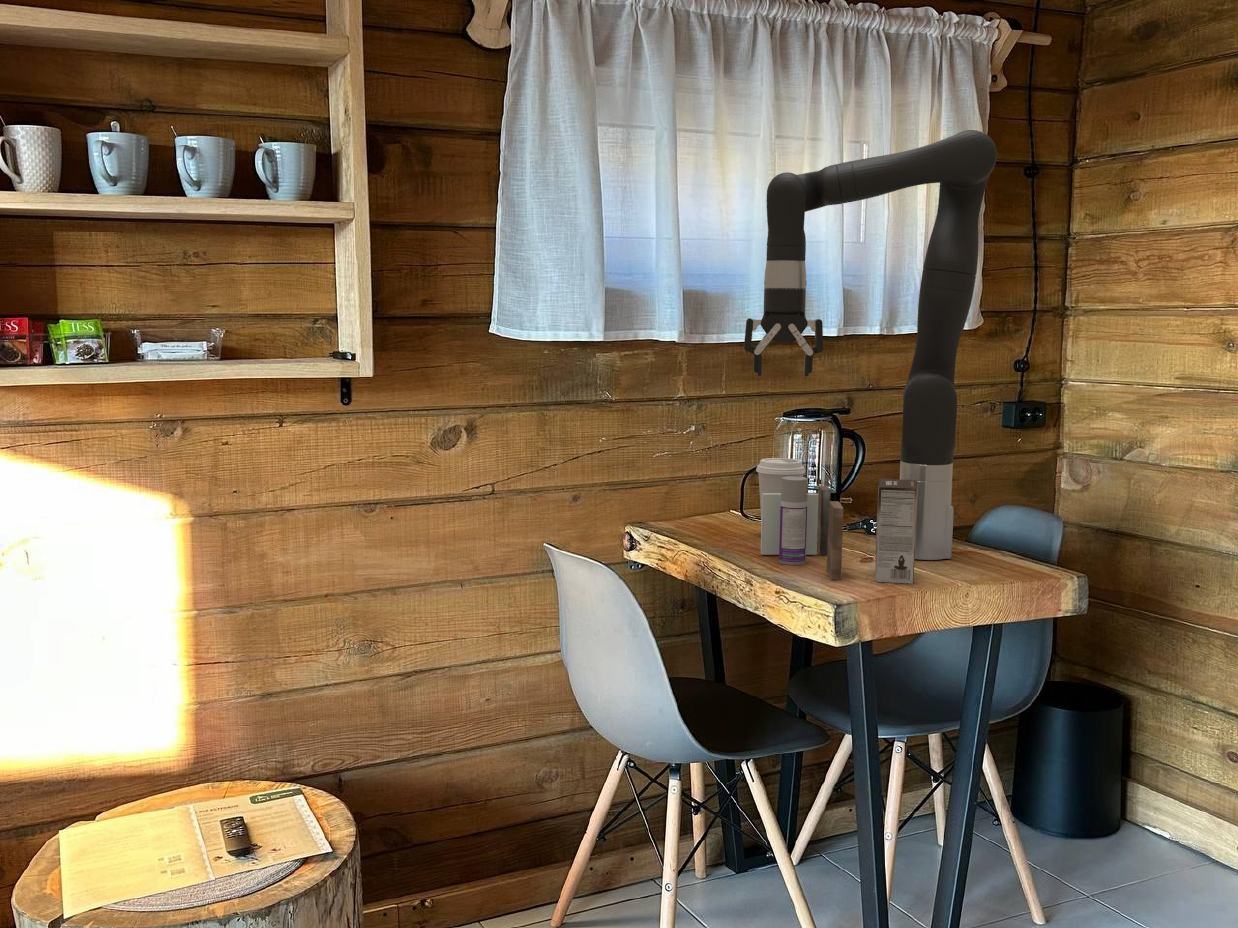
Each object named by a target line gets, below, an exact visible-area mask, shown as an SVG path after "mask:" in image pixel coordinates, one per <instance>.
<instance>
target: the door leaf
mask: <svg viewBox="0 0 1238 928" xmlns="http://www.w3.org/2000/svg"><path fill="white" fill-rule="evenodd" d="M818 498H819V493H812V492H811V493H810V492H809V493H808V492H807V532H806V556H807V555H814V556H815V555H817V553H818V551H817V528H818ZM780 505H781V493H762V517H761V516H760V519H761V522H760V523H761V524H760V555H779V539H780Z"/></svg>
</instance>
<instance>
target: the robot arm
mask: <svg viewBox="0 0 1238 928" xmlns="http://www.w3.org/2000/svg"><path fill="white" fill-rule="evenodd" d="M997 159H998V150H997V146H996V144H995V141H993V139H992V138H991V137H990V136H989V135H988V134H986V133H984V132H983V131H981V130H980V131H979V130H975V129H967V130H963V131H959V132H957V133H956V134H954V135H952V136H951V135H950V136H948V137H946V138H943V139H940V140H938V141H934V142H932V143H930V144H926V145H923V146H920V147H916V148H913V149H907V150H905V151H899V152H895V153H889V154H884V155H879V156H872V157H866V158H861V159H855V160H850V161H845V162H840V163H836V164H835V163H834V164H831V165H827V166H825V167H823V168H822V169H820V170H816V171H810V172H805V173H800V174H796V173H793V172H789V171H787V172H782V173H779V174H776V175H775V176H774V177H773V178H772V179H771V180H770V181H769V184H768V187H767V188H766V222H767V240H766V258H765V259H766V260H765V261H766V262H765V263H766V264H765V270H764V280H763V286H764V287H763V288H764V289H763V313H762V318H760V319H753V318H747V319H746V321H745V330H744V341H743V342H744V343H743V350H744V351H745V352H748V353H750V354H752V355H753V372H754V373H756V376H758V377H761V376H762V369H763V368H762V364H763V355H762V352H763V351H764V350H765V348H766V347H767V346H768V345H769V343H770V342H773V343H775V344H776V343H778V344H779V343H784V342H785V343H788V344H792V343H795V342H797V344H798V345H799V347H800V348H801V349H802V350H803V352H804V353H805V355H803V356H804V357H803V377H809V374H812V372H813V361H814V360H813V359H814V355H816V354H818V353H822V352H823V350H824V332H823V331H824V328H823V319H820V318H815V319H813V320H812V319H810V320H808V319H807V318H806V299H807V298H806V297H807V296H806V295H807V293H806V292H807V291H806V290H807V267H806V256H807V255H806V250H807V239H806V232H805V219H806V218H805V216H806V212H810V211H813V210H816V209H821V208H825V207H826V206H835V205H836V206H837V205H843V204H848V203H853V202H858V201H863V200H867V199H872V198H876V197H879V196H882V195H886V194H890V193H893V192H896V191H900V190H903V189H907V188H911V187H916V186H917V187H918V186H922V185H929V184H936V183H937V184H939V189H938V191H939V193H938V205H937V211H936V217H935V220H934V224H933V227H932V231H931V235H930V237H929V242H928V245H927V248H926V249H927V250H926V253H925V256H924V257H925V258H924V262H923V268H922V273H921V279H920V287H919V294H918V296H919V297H918V305H917V323H916V325H917V326H916V327H917V330H916V333H917V334H916V343H915V349H914V352H913V353H914V355H913V358H912V362H911V366H910V371H909V373H908V376H907V380H906V384H905V386H904V390H903V393H902V430H901V441H900V442H901V443H900V463H899V465H900V466H899V480H916V481H917V487H918V499H917V522H916V542H915V560H923V561H925V560H926V561H937V560H945V559H946V560H947V559H952V552H953V551H952V550H953V547H952V546H953V532H954V531H953V529H954V513H955V512H954V511H955V510H954V509H955V508H954V506H953V505H952V491H953V472H954V471H953V468H954V467H953V466H954V454H955V448H956V434H957V433H956V431H957V415H958V395H957V390H956V388H955V377H956V376H955V373H956V363H957V362H956V361H957V354H958V349H959V348H958V347H959V343H960V340H961V337H962V335H963V331H964V328H965V326H966V321H967V319H968V316H969V312H970V308H971V305H972V302H973V297H974V296H973V295H974V290H975V285H976V278H977V272H978V261H979V243H980V242H979V241H980V240H979V221H980V213H981V207H982V203H983V200H984V195H985V192H986V188H987V184H988V181H989V178H990V175H991V173H992V172H993V170H994V168H995V166H996V162H997ZM759 326H760V327H761V328H762V330H763V331H764V332H765V335H764V336H763V337H762V338H761V340H760V341H759V343H758V344H757V345H756V346H753V345H752V341H753V340H752V339H753V332H754V331H755V332H756V330H757V329H758V327H759ZM807 327H809V328H810V331H812V332H814V346H812V347H811V345H809V343H808V342H807V340H806V338H804V336H802V335H803V334H802V333H804V331H805V330H806V329H807Z"/></svg>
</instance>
